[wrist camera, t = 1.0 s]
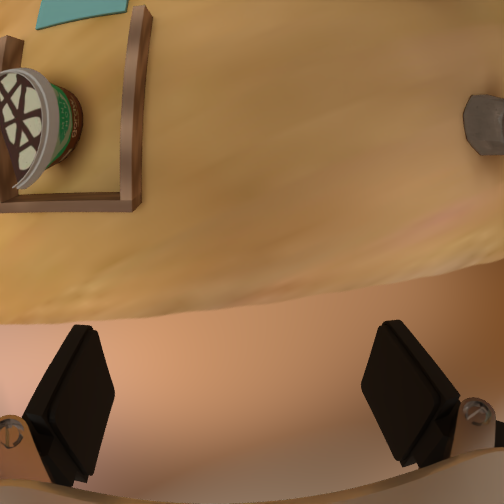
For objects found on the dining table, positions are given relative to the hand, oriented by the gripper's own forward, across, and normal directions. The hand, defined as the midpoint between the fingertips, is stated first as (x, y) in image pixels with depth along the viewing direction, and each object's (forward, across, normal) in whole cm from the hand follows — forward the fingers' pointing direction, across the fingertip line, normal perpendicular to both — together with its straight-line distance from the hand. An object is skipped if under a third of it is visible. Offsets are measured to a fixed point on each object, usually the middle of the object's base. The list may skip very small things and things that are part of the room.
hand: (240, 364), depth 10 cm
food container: (+26, +18, -10) cm, 34 cm away
